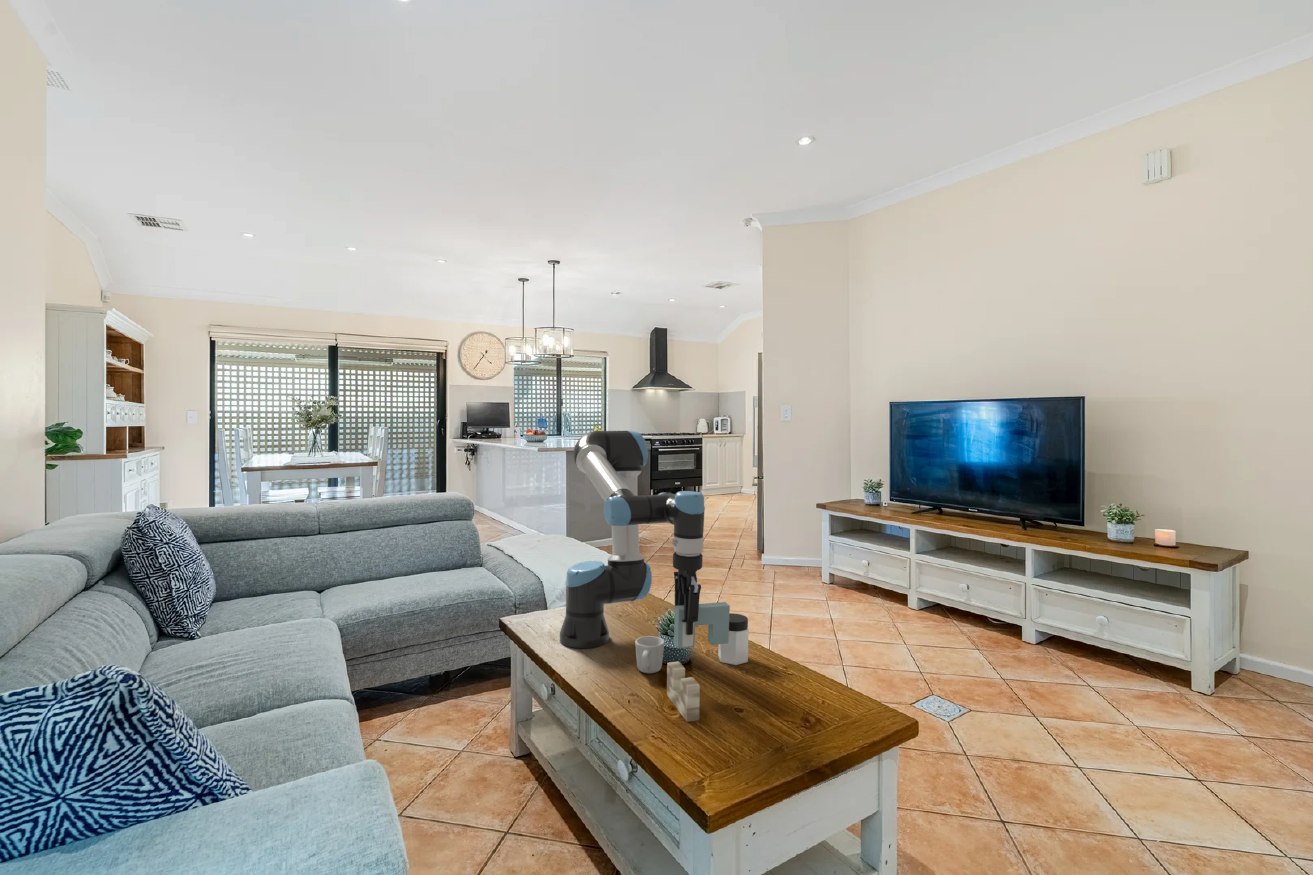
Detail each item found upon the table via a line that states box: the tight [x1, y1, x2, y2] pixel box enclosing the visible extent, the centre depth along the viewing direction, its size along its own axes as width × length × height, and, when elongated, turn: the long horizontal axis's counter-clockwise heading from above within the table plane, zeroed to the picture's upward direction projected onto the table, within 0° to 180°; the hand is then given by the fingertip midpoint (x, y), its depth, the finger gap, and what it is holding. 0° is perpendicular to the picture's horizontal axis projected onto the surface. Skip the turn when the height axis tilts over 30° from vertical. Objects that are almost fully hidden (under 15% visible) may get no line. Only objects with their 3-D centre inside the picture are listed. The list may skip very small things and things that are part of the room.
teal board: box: [673, 601, 731, 649], centre depth 155 cm, size 3×14×10 cm, turn 108°
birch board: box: [666, 661, 701, 723], centre depth 142 cm, size 14×3×8 cm, turn 18°
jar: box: [717, 612, 749, 666], centre depth 172 cm, size 9×8×12 cm
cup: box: [634, 635, 665, 674], centre depth 162 cm, size 11×8×8 cm
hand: (684, 642), depth 154 cm, fingers closed on teal board, 3 cm apart
